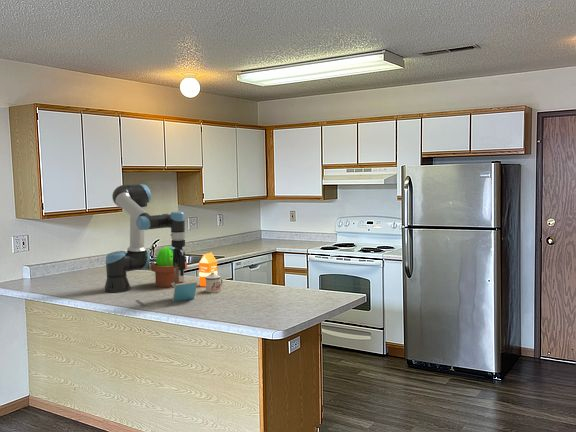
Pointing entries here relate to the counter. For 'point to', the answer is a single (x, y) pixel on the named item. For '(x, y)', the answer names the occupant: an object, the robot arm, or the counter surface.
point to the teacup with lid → (213, 283)
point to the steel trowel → (177, 276)
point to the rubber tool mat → (140, 303)
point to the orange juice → (207, 267)
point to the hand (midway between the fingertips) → (179, 280)
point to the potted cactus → (165, 267)
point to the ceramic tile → (184, 291)
